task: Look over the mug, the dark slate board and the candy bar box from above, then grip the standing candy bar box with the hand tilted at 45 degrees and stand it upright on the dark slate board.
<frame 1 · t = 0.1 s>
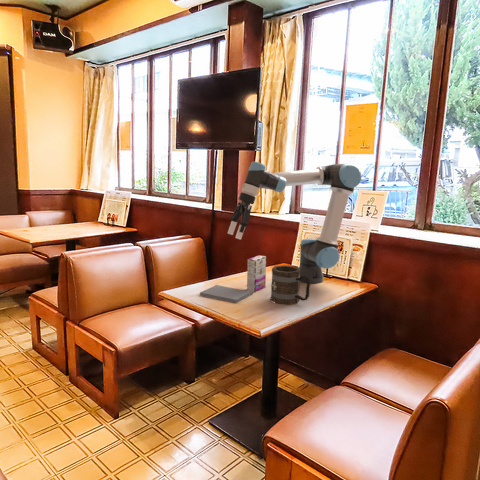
hand: (233, 236, 194), 28 cm above the table, tool tilted 20°, fingers open, 13 cm apart
candy bar box: (256, 289, 205), on the table
mug: (290, 302, 187), on the table
slate board: (225, 294, 194), on the table
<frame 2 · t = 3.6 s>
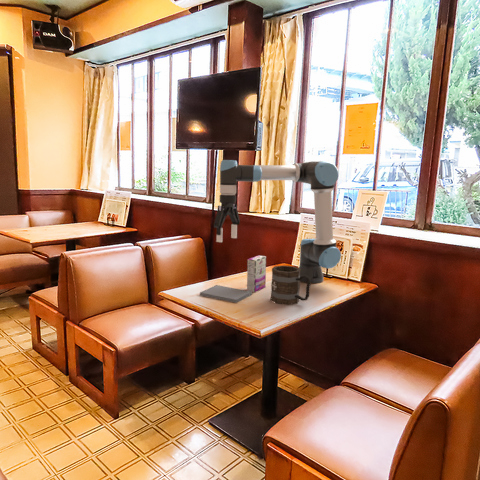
hand: (226, 240, 189), 27 cm above the table, tool pointing down, fingers open, 13 cm apart
nothing on the table moved.
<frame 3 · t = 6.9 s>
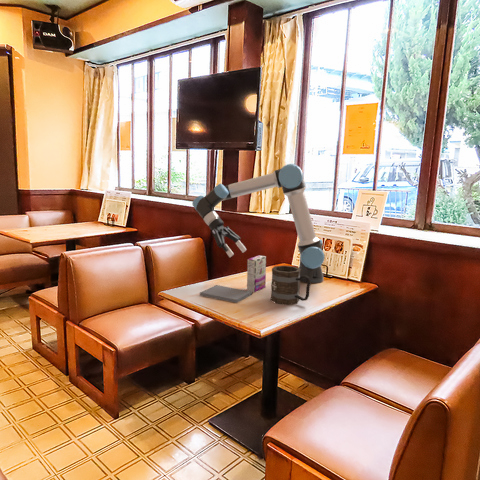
hand: (238, 253, 207), 17 cm above the table, tool tilted 45°, fingers open, 13 cm apart
nothing on the table moved.
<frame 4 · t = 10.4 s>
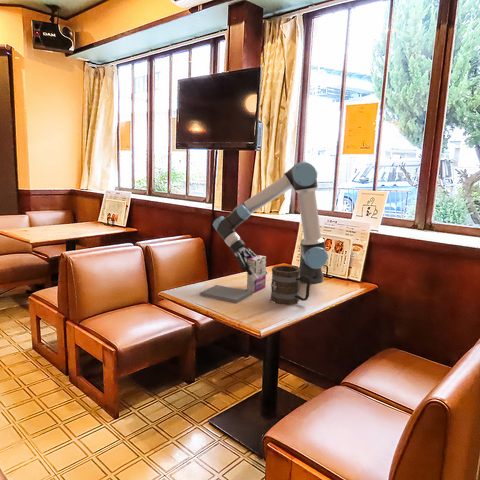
hand: (261, 276, 202), 7 cm above the table, tool tilted 45°, fingers closed on candy bar box, 11 cm apart
candy bar box: (256, 289, 205), on the table, touching gripper
everything else where it was.
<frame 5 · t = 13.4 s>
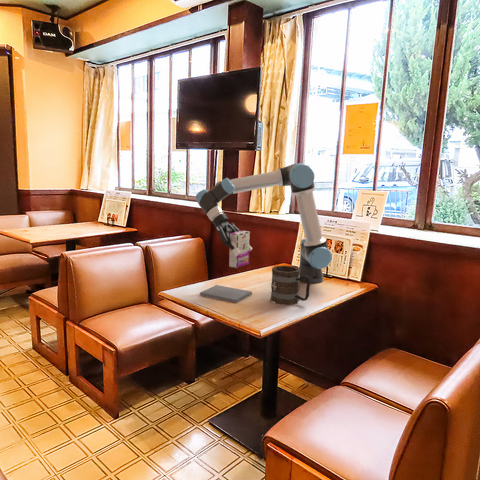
hand: (244, 252, 194), 20 cm above the table, tool tilted 45°, fingers closed on candy bar box, 11 cm apart
candy bar box: (238, 265, 196), point 13 cm above the table, touching gripper
everything else where it was.
when the fingers open (10 cm above the table, at t = 16.9 s): candy bar box drops 1 cm, resting on slate board.
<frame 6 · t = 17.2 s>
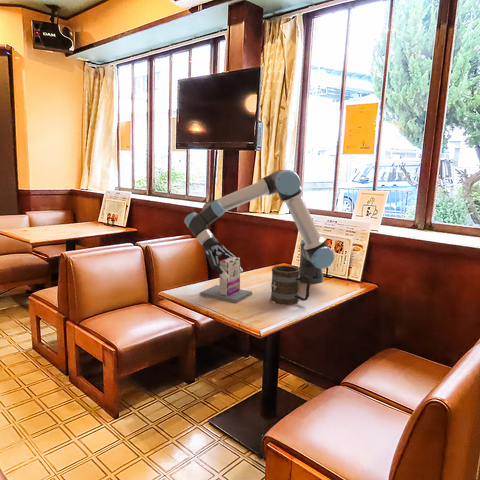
hand: (234, 275, 191), 10 cm above the table, tool tilted 45°, fingers open, 13 cm apart
candy bar box: (229, 293, 193), point 1 cm above the table, touching slate board
everything else where it was.
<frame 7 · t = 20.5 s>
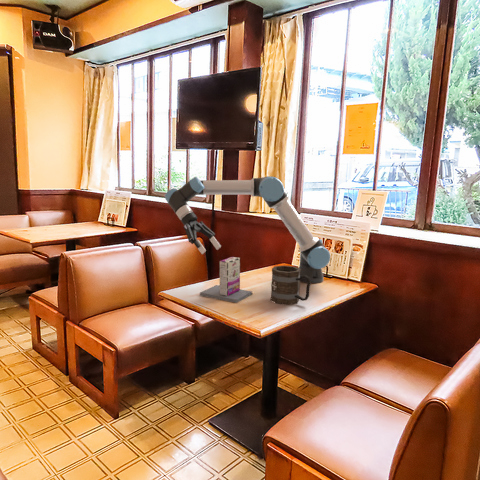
hand: (211, 250, 196), 21 cm above the table, tool tilted 45°, fingers open, 13 cm apart
nothing on the table moved.
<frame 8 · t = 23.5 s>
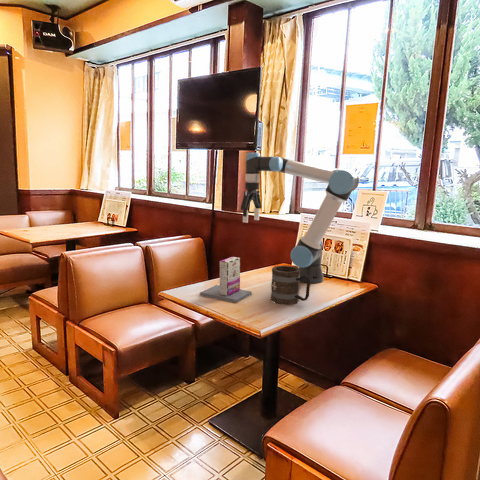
hand: (251, 221, 221), 32 cm above the table, tool pointing down, fingers open, 13 cm apart
nothing on the table moved.
at the end: candy bar box inside the target area on the slate board (2.0 cm from its centre), point 1.3 cm above the slate board's base; candy bar box tilted 0°; the gripper is holding nothing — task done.
